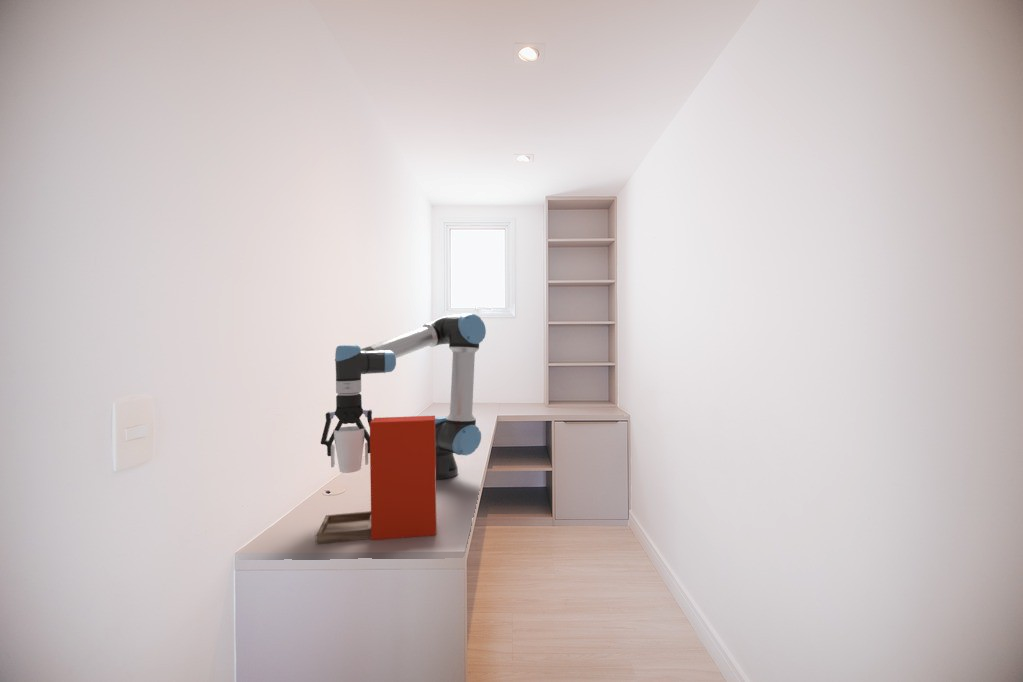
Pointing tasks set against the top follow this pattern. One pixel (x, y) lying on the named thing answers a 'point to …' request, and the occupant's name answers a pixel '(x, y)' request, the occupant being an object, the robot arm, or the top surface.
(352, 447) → the foam cup
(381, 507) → the file binder
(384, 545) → the top surface
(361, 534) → the square wooden tray
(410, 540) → the top surface
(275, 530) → the top surface
